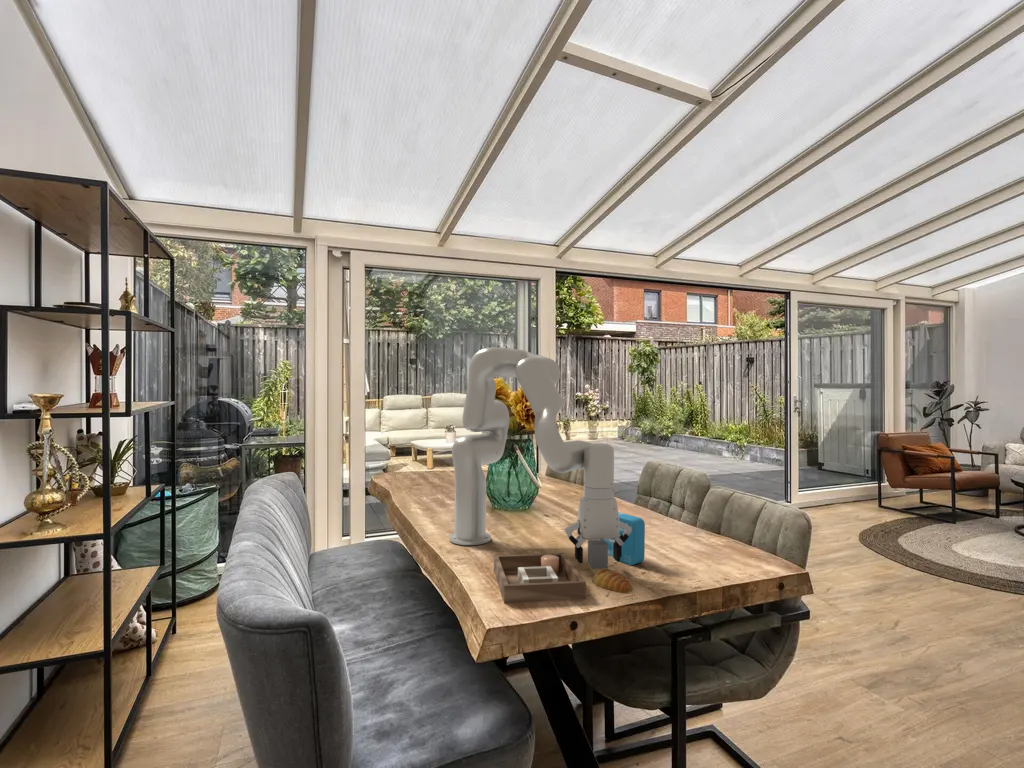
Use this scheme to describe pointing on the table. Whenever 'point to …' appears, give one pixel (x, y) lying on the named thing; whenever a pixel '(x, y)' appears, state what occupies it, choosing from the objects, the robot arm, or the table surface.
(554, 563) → the ball
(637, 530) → the data package
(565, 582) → the crate
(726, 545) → the table surface
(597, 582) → the pastry
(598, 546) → the gray block
